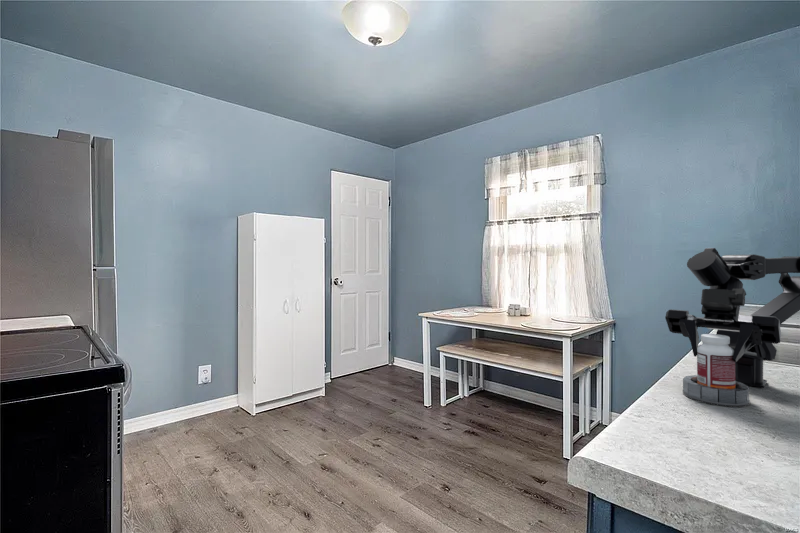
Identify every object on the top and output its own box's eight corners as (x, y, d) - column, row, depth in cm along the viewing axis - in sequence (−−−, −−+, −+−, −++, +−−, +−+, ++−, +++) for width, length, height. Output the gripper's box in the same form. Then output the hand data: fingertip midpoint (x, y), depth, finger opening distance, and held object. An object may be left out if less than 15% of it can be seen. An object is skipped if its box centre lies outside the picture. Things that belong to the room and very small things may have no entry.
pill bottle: (740, 390, 81) (740, 336, 81) (729, 396, 78) (728, 340, 78) (704, 382, 86) (703, 331, 86) (691, 388, 83) (691, 335, 83)
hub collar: (689, 385, 90) (689, 372, 90) (753, 397, 82) (753, 382, 82) (676, 397, 82) (676, 382, 82) (745, 411, 75) (745, 395, 75)
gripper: (667, 274, 91) (652, 328, 84) (779, 275, 78) (773, 340, 70) (676, 305, 97) (663, 358, 90) (782, 312, 83) (777, 375, 76)
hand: (713, 357), depth 81 cm, fingers closed on pill bottle, 6 cm apart
